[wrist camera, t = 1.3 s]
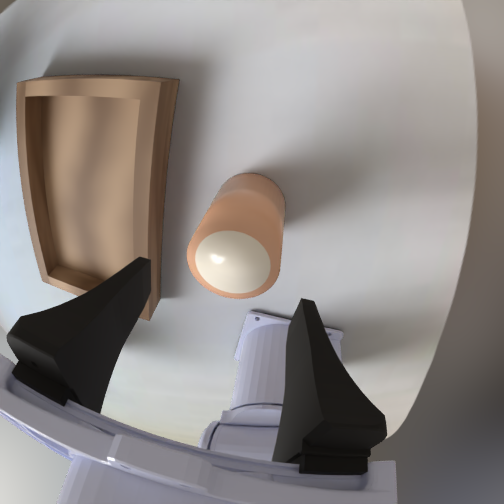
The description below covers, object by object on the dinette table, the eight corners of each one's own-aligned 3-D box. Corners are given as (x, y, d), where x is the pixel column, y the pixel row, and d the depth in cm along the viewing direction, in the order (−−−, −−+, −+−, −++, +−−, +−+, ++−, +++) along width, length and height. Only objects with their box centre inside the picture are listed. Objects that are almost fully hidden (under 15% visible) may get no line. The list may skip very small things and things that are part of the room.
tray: (179, 79, 17) (160, 82, 14) (160, 299, 28) (149, 320, 26) (41, 76, 17) (17, 82, 14) (57, 264, 28) (42, 281, 26)
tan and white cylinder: (293, 183, 20) (292, 237, 14) (275, 242, 23) (266, 308, 17) (222, 165, 20) (191, 211, 14) (211, 226, 23) (183, 286, 17)
